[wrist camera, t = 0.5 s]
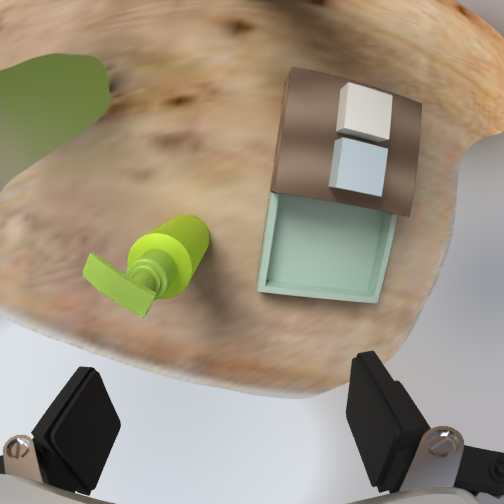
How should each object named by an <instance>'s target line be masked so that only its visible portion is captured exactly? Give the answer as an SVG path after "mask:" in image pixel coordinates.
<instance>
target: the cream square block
mask: <svg viewBox="0 0 504 504" xmlns="http://www.w3.org/2000/svg"><path fill="white" fill-rule="evenodd" d="M391 111H392V95H390V94H386V93H383V92H380V91H377V90H374V89H371V88H367V87H364V86H360V85H357V84H353V83H350V82H348V83H347V84H346V85H345V86H344V87H343V88H341V89H340V99H339V109H338V118H337V126H336V132H339V133H344V134H348V135H352V136H356V137H360V138H364V139H368V140H372V141H376V142H381V141H385V140H389V135H390V124H391Z"/></svg>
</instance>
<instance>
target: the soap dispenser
mask: <svg viewBox="0 0 504 504" xmlns="http://www.w3.org/2000/svg"><path fill="white" fill-rule="evenodd" d="M209 242H210V235H209V231H208V228H207V226H206V225H205V223H204V222H203V221H202V220H201V219H199V218H198V217H196V216H193V215H180V216H177V217H175V218H174V219H172V220H170V221H168V222H167V223H165V224H163V225H162V226H160V227H158V228H156V229H155V230H153V231H151V232H150V233H148V234H146V235H145V236H143V237H141V238H140V239H139V240H137V241H136V242H135V243H134V245H133V246H132V248H131V250H130V252H129V255H128V270H127V274H126V275H125V274H124V273H122V272H120V271H119V270H117V269H116V268H114V267H113V266H111V265H110V264H109V263H107V262H106V261H105V260H104V259H102V258H101V257H100V256H99V255H97V254H94V253H90V255H89V257H88V260H87V262H86V265H85V268H84V270H83V273H82V275H83V276H84V278H85V279H86V280H87V281H89V282H90V283H91V284H92V285H93V286H94V287H95V288H96V289H98V290H99V291H100V292H102V293H103V294H104V295H106V296H107V297H109V298H110V299H112V300H113V301H115V302H116V303H118V304H120V305H121V306H123V307H125V308H126V309H128V310H130V311H132V312H134V313H135V314H137V315H139V316H141V317H143V318H144V317H145V316H146V314H147V312H148V310H149V308H150V306H151V304H152V303H153V301H154V300H157V299H168V298H172V297H175V296H177V295H179V294H180V293H181V292H182V291H184V289H185V288H186V287H187V286H188V284H189V282H190V280H191V278H192V276H193V274H194V272H195V271H196V269H197V267H198V265H199V263H200V261H201V259H202V257H203V256H204V254H205V252H206V250H207V248H208V246H209Z"/></svg>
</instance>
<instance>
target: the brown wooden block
mask: <svg viewBox="0 0 504 504" xmlns="http://www.w3.org/2000/svg"><path fill="white" fill-rule="evenodd" d="M348 82H350V83H353V84H357V85H360V86H364V87H367V88H371V89H374V90H377V91H380V92H383V93H386V94H390V95H392V111H391V124H390V135H389V140H385V141H381V142H376V141H372V140H368V139H364V138H360V137H356V136H352V135H348V134H344V133H339V132H336V126H337V118H338V109H339V99H340V89H341V88H343V87H344V86H345V85H346V84H347V83H348ZM421 112H422V103H419V102H416V101H414V100H411V99H409V98H406V97H403V96H400V95H398V94H395V93H392V92H389V91H386V90H383V89H380V88H376V87H373V86H370V85H367V84H363V83H360V82H356V81H353V80H349V79H345V78H341V77H337V76H333V75H329V74H325V73H321V72H316V71H311V70H306V69H301V68H296V67H292V68H291V70H290V73H289V75H288V77H287V80H286V82H285V88H284V95H283V103H282V110H281V117H280V125H279V132H278V139H277V146H276V153H275V160H274V167H273V174H272V181H271V188H270V190H271V191H273V192H277V193H284V194H290V195H297V196H303V197H309V198H315V199H321V200H327V201H332V202H338V203H344V204H349V205H354V206H360V207H365V208H370V209H375V210H380V211H385V212H389V213H394V214H399V215H403V216H408V217H409V216H410V210H411V204H412V198H413V191H414V185H415V177H416V170H417V161H418V152H419V141H420V128H421ZM343 137H344V138H348V139H352V140H356V141H360V142H364V143H368V144H372V145H376V146H379V147H383V148H387V149H388V153H387V162H386V170H385V177H384V184H383V190H382V197H380V196H375V195H369V194H364V193H359V192H355V191H350V190H344V189H339V188H334V187H329V179H330V172H331V165H332V158H333V151H334V143H335V140H338V139H340V138H343Z"/></svg>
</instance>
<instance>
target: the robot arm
mask: <svg viewBox="0 0 504 504" xmlns="http://www.w3.org/2000/svg"><path fill="white" fill-rule="evenodd" d="M346 417H347V420H348V423H349V426H350V429H351V431H352V434H353V437H354V439H355V442H356V445H357V447H358V450H359V453H360V455H361V458H362V461H363V463H364V466H365V469H366V471H367V474H368V477H369V480H370V483H371V485H372V486H373V487H375V486H377V488H378V491H379V493H380V492H384V491H387V490H389V492H390V494H387V495H383V496H378V497H374V498H369V499H365V500H361V501H357V502H353V503H348V504H504V453H502V452H496V451H490V450H485V449H480V448H475V447H470V446H466V445H464V440H463V437H462V435H461V434H460V433H459V432H458V431H457V430H455V429H454V428H451V427H448V426H439V427H434V428H432V429H431V428H430V426H429V425H428V423H427V422H426V420H425V419H424V417H423V415H422V414H421V412H420V411H419V409H418V408H417V406H416V405H415V403H414V402H413V400H412V399H411V397H410V396H409V394H408V393H407V391H406V390H405V388H404V387H403V385H402V384H401V383H400V382H399V381H394V380H393V379H392V377H391V376H390V374H389V373H388V371H387V370H386V368H385V367H384V365H383V364H382V362H381V361H380V359H379V358H378V356H377V355H376V353H375V352H374V351H368V352H362V353H358V354H357V357H356V358H353V359H352V365H351V375H350V384H349V392H348V400H347V407H346ZM120 427H121V423H120V419H119V417H118V415H117V413H116V411H115V409H114V406H113V404H112V402H111V400H110V398H109V395H108V393H107V391H106V388H105V386H104V383H103V381H102V378H101V376H100V374H99V372H97V371H96V370H95V369H94V368H92V367H79V368H78V369H77V371H76V372H75V373H74V374H73V376H72V377H71V378H70V380H69V381H68V382H67V384H66V385H65V386H64V388H63V389H62V390H61V392H60V393H59V394H58V396H57V397H56V398H55V400H54V401H53V403H52V404H51V405H50V407H49V408H48V409H47V411H46V412H45V414H44V415H43V416H42V418H41V419H40V421H39V422H38V424H37V425H36V427H35V428H34V430H33V431H32V432H31V433H32V434H33V436H34V438H33V439H31V438H30V437H28V436H26V435H17V436H14V437H12V438H11V439H9V440H8V441H7V442H6V443H5V445H4V447H3V455H2V456H0V504H114V503H109V502H105V501H102V500H97V499H93V498H90V497H86V496H83V495H79V494H76V493H75V491H77V492H78V493H81V494H85V495H88V496H89V495H90V493H91V490H94V489H95V488H96V485H97V483H98V480H99V478H100V475H101V473H102V470H103V468H104V466H105V463H106V461H107V458H108V456H109V454H110V451H111V449H112V446H113V444H114V442H115V439H116V437H117V435H118V432H119V430H120Z"/></svg>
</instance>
